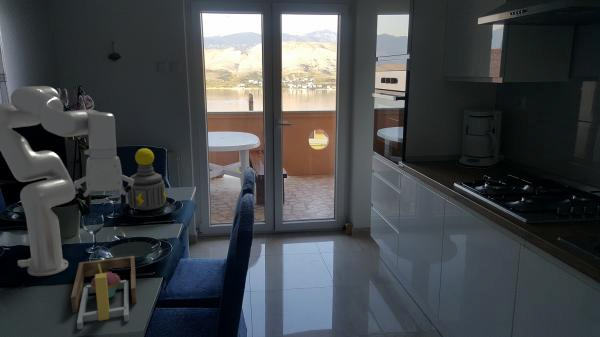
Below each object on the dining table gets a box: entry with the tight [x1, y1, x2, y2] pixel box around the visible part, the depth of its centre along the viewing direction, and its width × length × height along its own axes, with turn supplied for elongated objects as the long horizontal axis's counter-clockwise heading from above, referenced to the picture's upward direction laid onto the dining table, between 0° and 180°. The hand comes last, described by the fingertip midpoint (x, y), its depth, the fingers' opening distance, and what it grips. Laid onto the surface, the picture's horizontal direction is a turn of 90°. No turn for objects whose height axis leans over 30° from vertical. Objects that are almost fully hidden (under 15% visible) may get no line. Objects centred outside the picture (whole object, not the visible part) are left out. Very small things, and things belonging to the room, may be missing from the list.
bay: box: [70, 255, 137, 314], centre depth 147 cm, size 18×25×5 cm
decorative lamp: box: [126, 147, 167, 211], centre depth 232 cm, size 19×19×30 cm
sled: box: [76, 273, 130, 330], centre depth 136 cm, size 13×22×13 cm, turn 20°
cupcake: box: [90, 262, 121, 299], centre depth 142 cm, size 9×8×12 cm
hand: (106, 206), depth 142 cm, fingers open, 9 cm apart
